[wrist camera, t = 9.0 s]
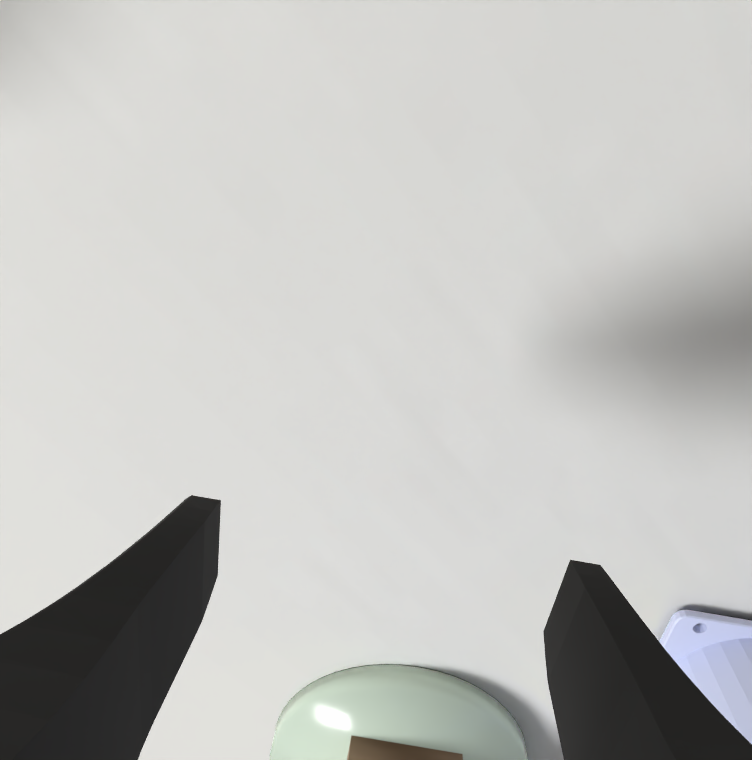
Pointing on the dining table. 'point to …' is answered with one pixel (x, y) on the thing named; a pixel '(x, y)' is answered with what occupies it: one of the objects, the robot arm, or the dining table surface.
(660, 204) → the dining table surface
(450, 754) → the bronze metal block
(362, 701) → the pale green domed disc
